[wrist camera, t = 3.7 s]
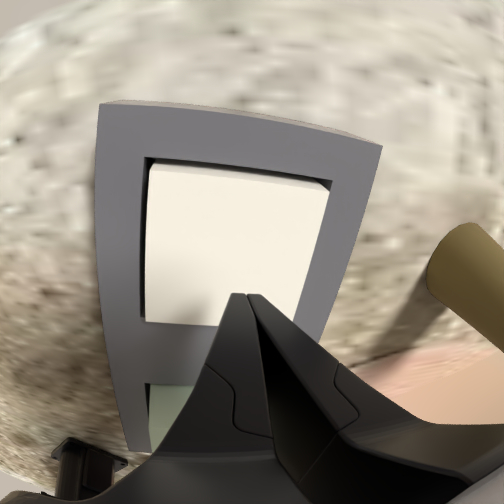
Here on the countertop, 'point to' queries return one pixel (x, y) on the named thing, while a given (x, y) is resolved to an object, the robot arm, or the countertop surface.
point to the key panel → (135, 216)
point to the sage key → (165, 409)
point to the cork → (471, 279)
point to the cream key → (226, 238)
